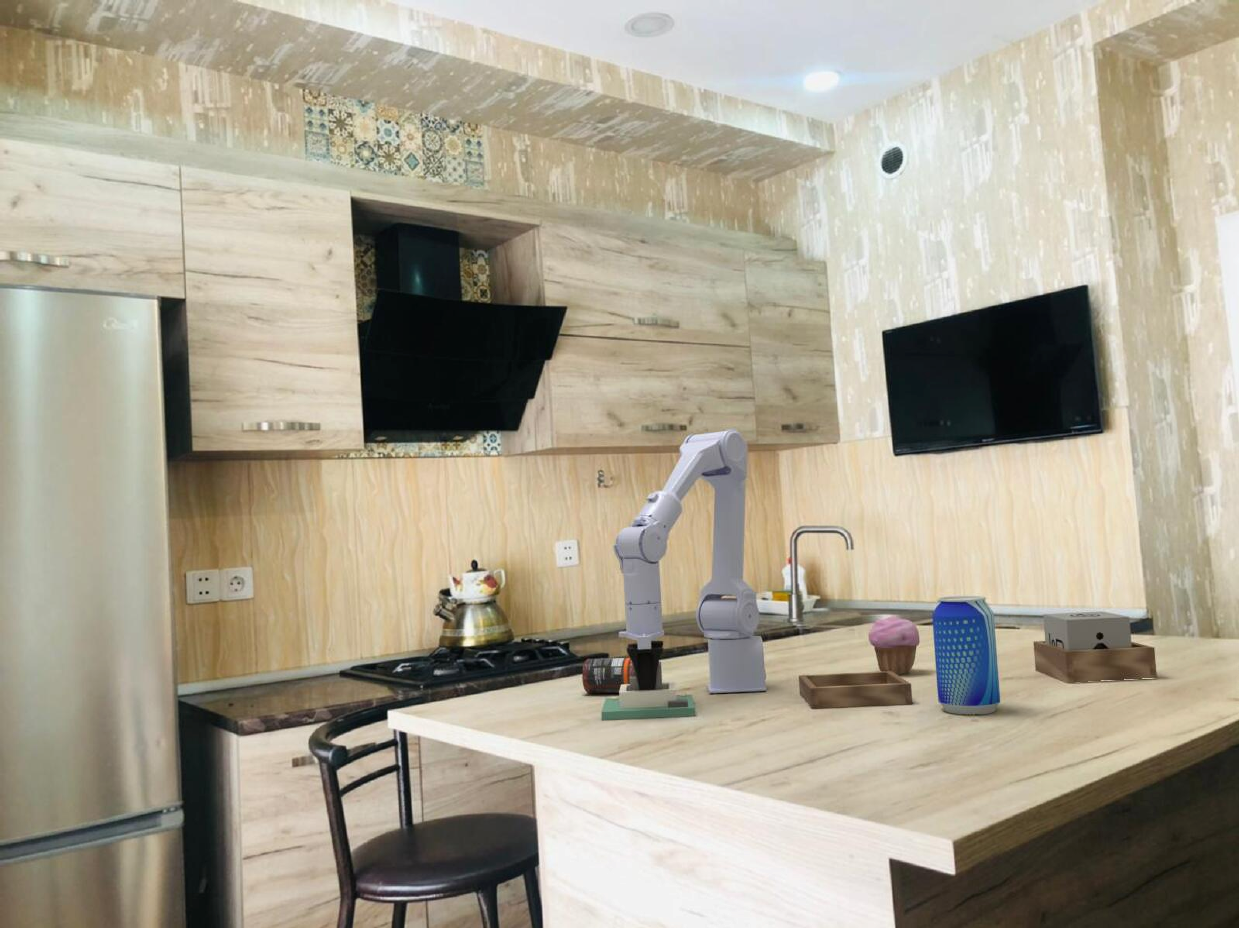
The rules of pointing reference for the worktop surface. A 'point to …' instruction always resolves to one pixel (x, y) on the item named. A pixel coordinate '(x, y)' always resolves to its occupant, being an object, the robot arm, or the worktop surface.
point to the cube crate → (1095, 663)
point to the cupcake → (894, 644)
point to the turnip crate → (855, 689)
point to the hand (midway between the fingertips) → (647, 690)
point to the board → (649, 709)
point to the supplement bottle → (607, 674)
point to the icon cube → (1087, 630)
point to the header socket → (647, 696)
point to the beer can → (966, 655)
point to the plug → (658, 686)
